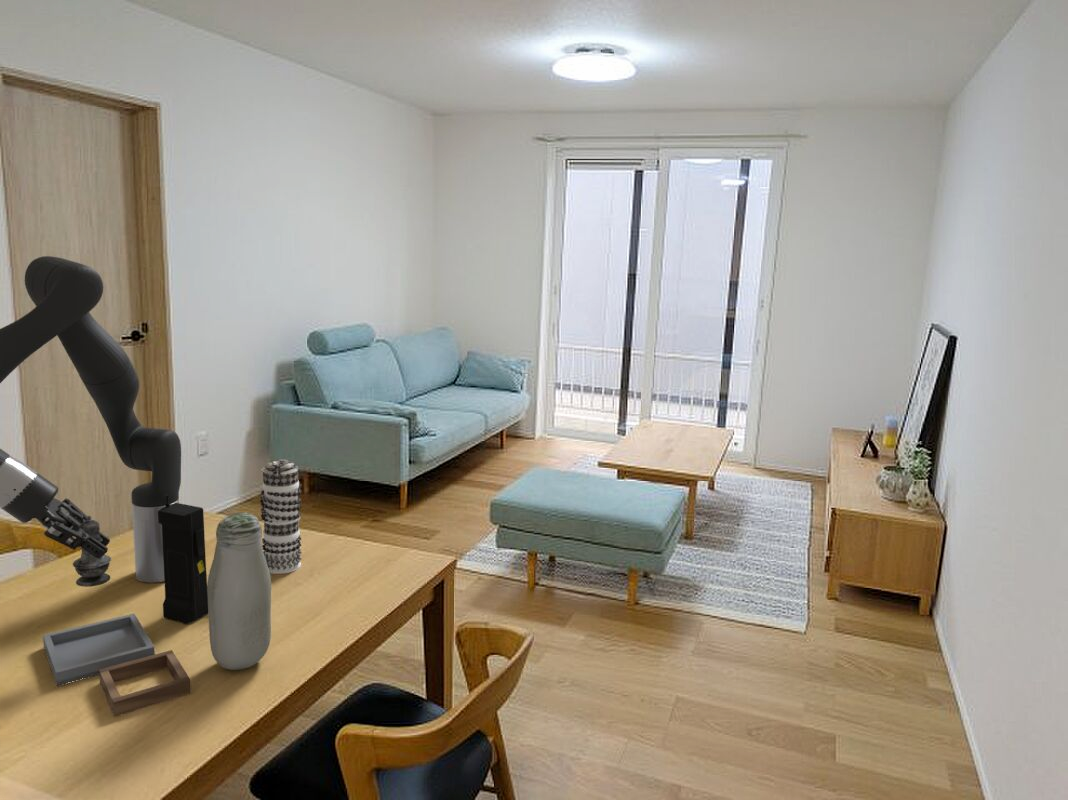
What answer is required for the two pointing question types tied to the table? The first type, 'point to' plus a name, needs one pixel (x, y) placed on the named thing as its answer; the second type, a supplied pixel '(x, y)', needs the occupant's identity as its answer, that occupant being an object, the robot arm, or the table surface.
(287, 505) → the decorative candle
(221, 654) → the glass bottle
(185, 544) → the portable radio
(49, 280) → the robot arm
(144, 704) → the walnut collar
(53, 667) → the grey tray
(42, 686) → the table surface
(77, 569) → the dark grey chess piece
